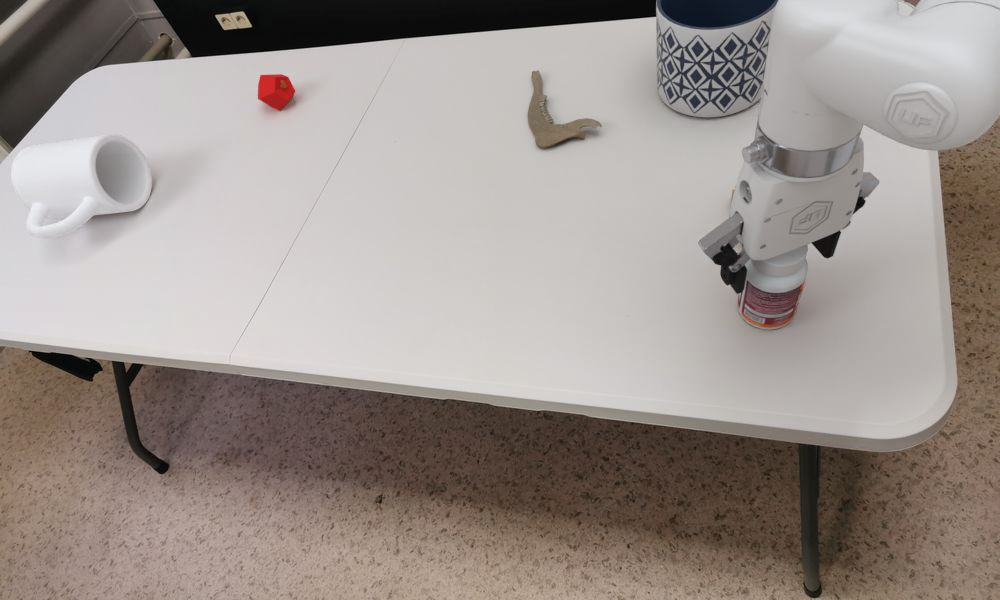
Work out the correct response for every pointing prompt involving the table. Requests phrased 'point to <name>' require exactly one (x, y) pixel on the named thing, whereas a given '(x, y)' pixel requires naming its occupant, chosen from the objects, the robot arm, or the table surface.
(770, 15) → the planter
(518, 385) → the table surface
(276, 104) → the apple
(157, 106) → the table surface
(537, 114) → the jawbone
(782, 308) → the pill bottle
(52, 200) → the mug
